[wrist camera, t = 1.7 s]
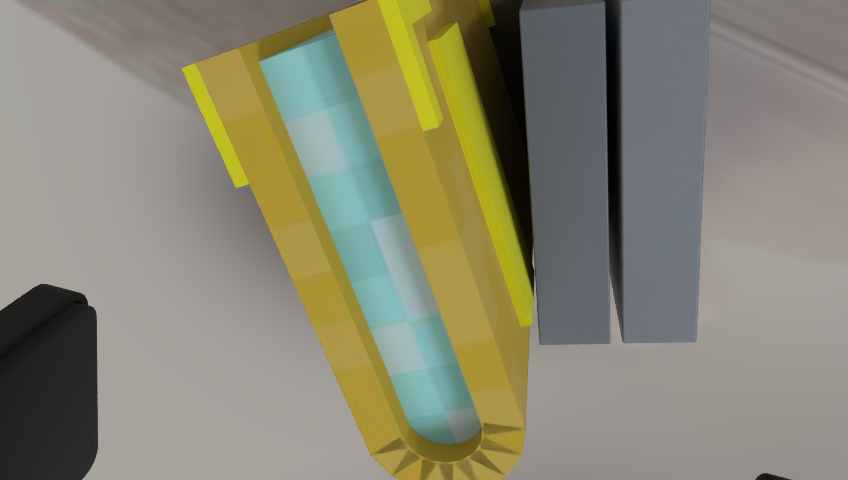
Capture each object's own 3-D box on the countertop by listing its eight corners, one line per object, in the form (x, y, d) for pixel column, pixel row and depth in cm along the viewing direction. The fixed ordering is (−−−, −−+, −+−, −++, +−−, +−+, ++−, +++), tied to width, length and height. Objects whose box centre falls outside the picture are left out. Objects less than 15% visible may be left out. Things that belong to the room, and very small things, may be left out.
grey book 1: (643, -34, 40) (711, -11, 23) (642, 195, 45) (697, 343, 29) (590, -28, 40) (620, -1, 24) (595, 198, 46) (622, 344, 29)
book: (373, -3, 43) (181, 68, 20) (477, -41, 41) (393, -9, 18) (457, 238, 48) (380, 505, 26) (551, 215, 47) (557, 479, 24)
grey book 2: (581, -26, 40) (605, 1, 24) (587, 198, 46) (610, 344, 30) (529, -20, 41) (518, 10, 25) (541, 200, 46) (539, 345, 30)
